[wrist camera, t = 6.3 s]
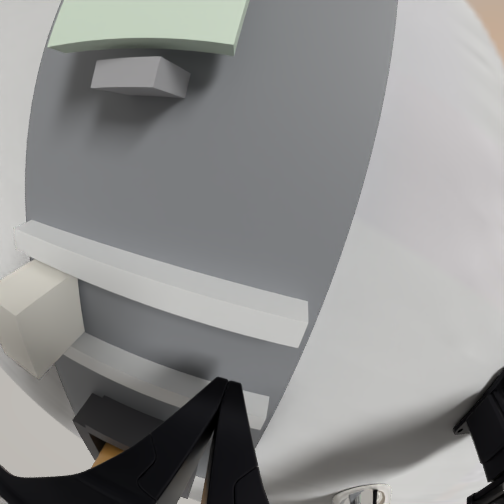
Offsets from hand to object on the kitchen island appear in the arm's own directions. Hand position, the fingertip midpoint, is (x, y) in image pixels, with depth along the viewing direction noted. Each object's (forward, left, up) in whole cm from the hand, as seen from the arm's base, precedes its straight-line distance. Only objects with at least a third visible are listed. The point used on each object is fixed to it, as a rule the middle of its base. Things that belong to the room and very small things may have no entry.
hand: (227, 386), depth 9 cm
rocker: (+4, -11, 0) cm, 12 cm away
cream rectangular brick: (+8, 0, -1) cm, 8 cm away
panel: (+4, 0, -4) cm, 6 cm away
